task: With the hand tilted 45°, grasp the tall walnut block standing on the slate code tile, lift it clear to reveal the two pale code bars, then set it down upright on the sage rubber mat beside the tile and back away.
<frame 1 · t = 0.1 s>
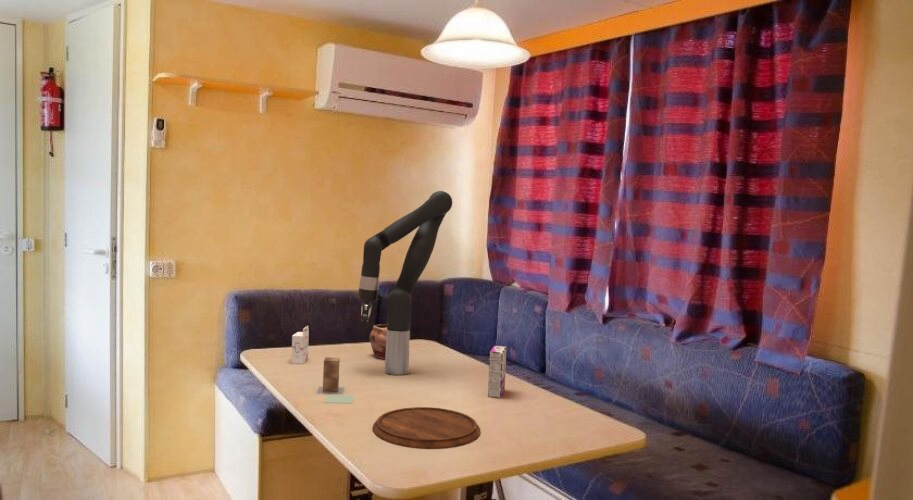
hand: (364, 328, 256), 17 cm above the table, tool pointing down, fingers open, 8 cm apart
sage mat: (339, 400, 218), on the table
walnut block: (330, 390, 228), resting on code tile
candy bar box: (496, 394, 235), on the table
ink cartridge box: (299, 362, 269), on the table
cutting board: (426, 431, 193), on the table
code tile: (330, 391, 228), on the table
decorative planter: (382, 356, 286), on the table
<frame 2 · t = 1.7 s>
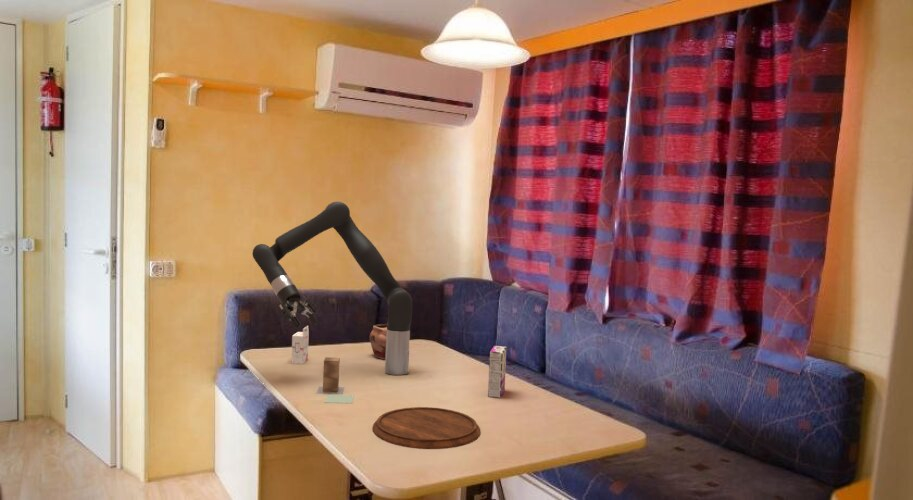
hand: (307, 325, 232), 22 cm above the table, tool tilted 45°, fingers open, 8 cm apart
nothing on the table moved.
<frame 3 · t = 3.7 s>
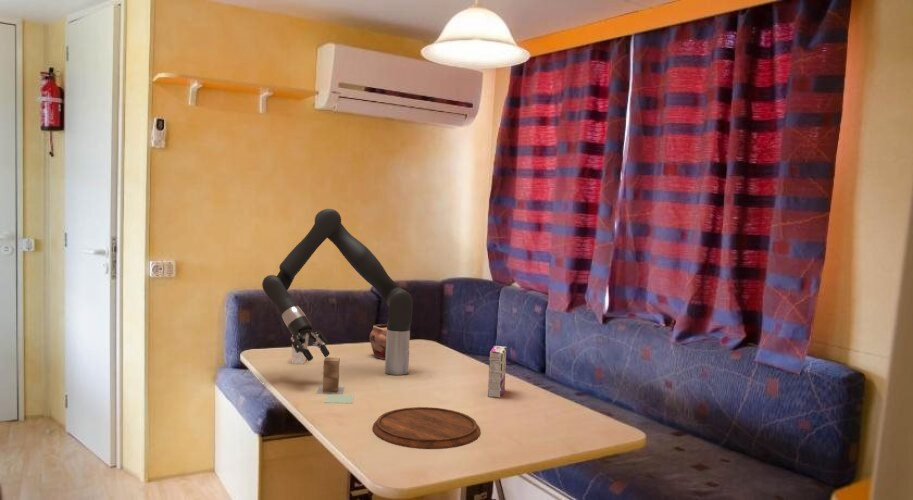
hand: (319, 357, 230), 11 cm above the table, tool tilted 45°, fingers open, 8 cm apart
nothing on the table moved.
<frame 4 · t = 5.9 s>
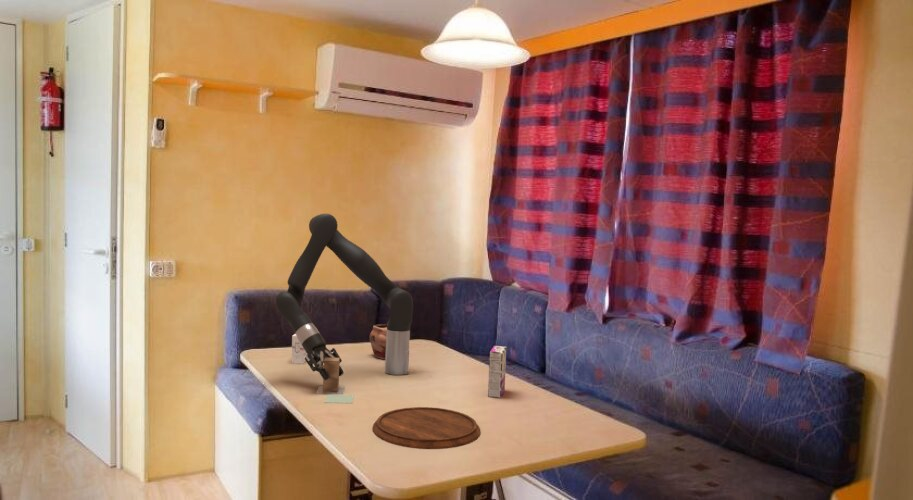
hand: (334, 376, 227), 5 cm above the table, tool tilted 45°, fingers closed on walnut block, 7 cm apart
walnut block: (330, 390, 228), resting on code tile, touching gripper
everything else where it was.
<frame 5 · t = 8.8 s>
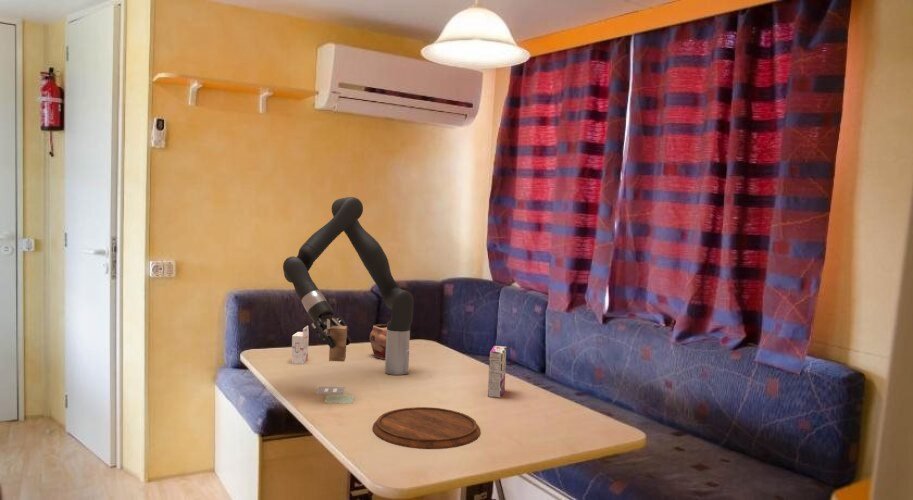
hand: (341, 345, 217), 18 cm above the table, tool tilted 45°, fingers closed on walnut block, 7 cm apart
walnut block: (337, 359, 218), point 13 cm above the table, touching gripper
everything else where it was.
when the fingers open (7 cm above the table, at t = 11.8 s): walnut block drops 1 cm, resting on sage mat.
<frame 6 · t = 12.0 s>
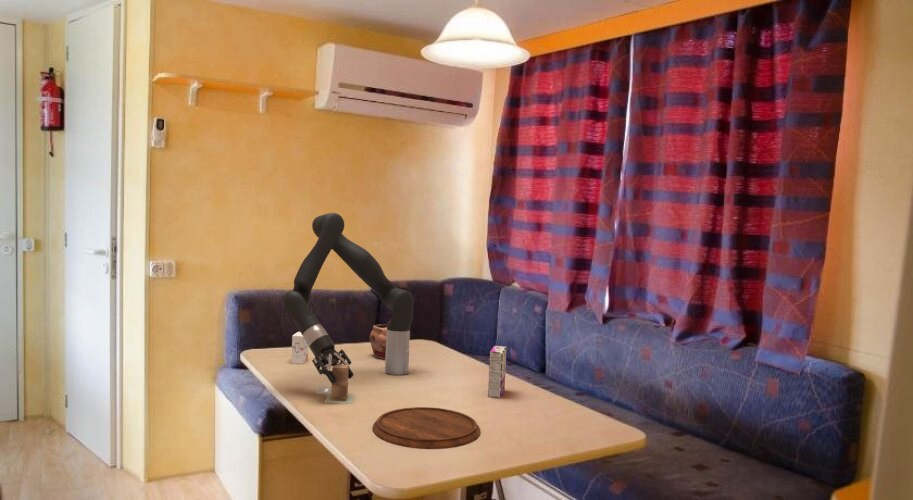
hand: (343, 379, 217), 7 cm above the table, tool tilted 45°, fingers open, 8 cm apart
walnut block: (339, 398, 218), point 1 cm above the table, touching sage mat
everything else where it was.
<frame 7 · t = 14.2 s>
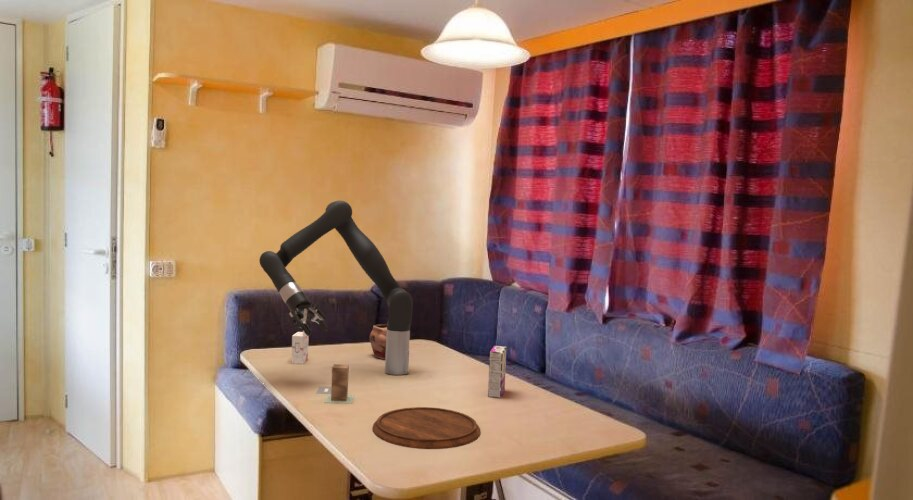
hand: (318, 332, 229), 20 cm above the table, tool tilted 45°, fingers open, 8 cm apart
nothing on the table moved.
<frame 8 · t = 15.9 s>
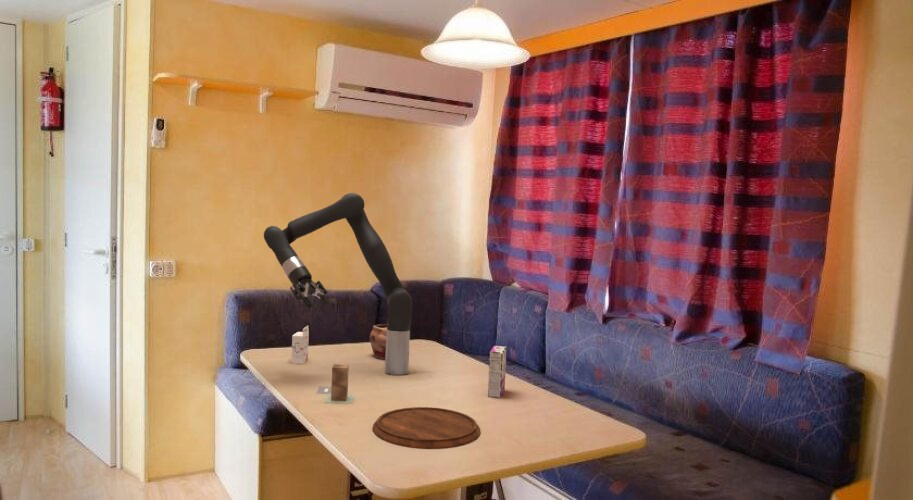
hand: (319, 306, 234), 29 cm above the table, tool tilted 45°, fingers open, 8 cm apart
nothing on the table moved.
at the end: walnut block inside the target area on the sage mat (0.2 cm from its centre), point 0.5 cm above the sage mat's base; walnut block tilted 0°; walnut block touching sage mat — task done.
